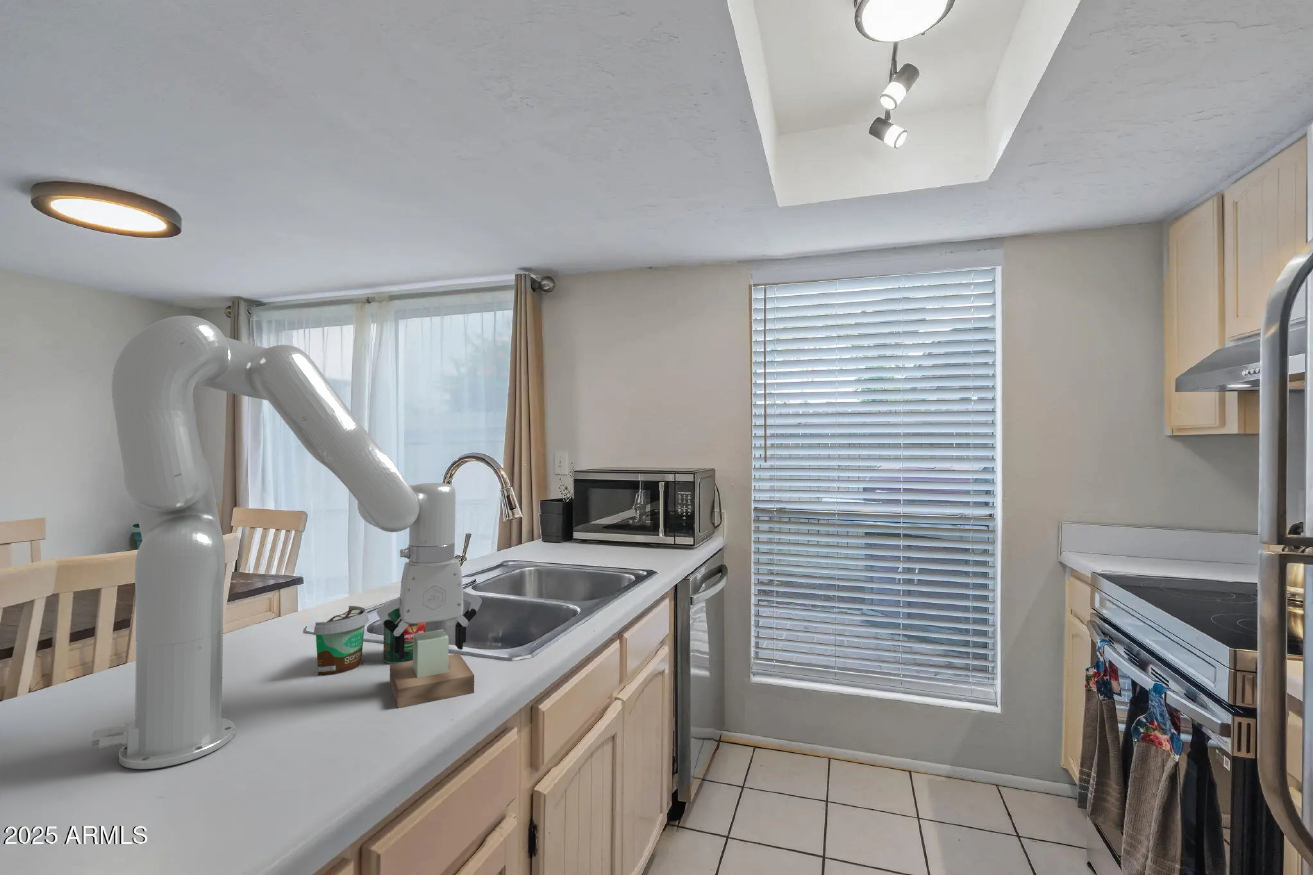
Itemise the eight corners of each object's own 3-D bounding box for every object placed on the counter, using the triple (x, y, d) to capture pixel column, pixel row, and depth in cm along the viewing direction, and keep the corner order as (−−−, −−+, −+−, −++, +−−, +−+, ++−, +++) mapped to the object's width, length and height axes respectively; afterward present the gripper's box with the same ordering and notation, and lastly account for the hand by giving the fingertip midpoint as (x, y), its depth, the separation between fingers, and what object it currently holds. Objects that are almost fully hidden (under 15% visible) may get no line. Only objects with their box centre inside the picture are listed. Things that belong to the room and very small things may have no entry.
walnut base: (398, 707, 95) (398, 689, 95) (389, 681, 105) (389, 664, 105) (474, 692, 101) (474, 674, 101) (459, 669, 111) (459, 653, 111)
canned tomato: (406, 666, 113) (407, 608, 113) (373, 661, 115) (374, 605, 115) (434, 652, 120) (435, 598, 120) (403, 648, 123) (403, 595, 123)
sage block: (417, 677, 100) (417, 642, 100) (413, 668, 104) (413, 633, 104) (448, 672, 102) (448, 637, 102) (442, 662, 107) (443, 629, 107)
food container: (346, 679, 106) (347, 623, 107) (313, 678, 107) (313, 623, 107) (380, 655, 119) (380, 605, 119) (349, 654, 119) (350, 604, 119)
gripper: (379, 562, 96) (378, 668, 96) (487, 553, 105) (485, 650, 104) (375, 554, 102) (373, 653, 102) (477, 546, 111) (475, 638, 111)
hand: (430, 651), depth 103 cm, fingers open, 9 cm apart
